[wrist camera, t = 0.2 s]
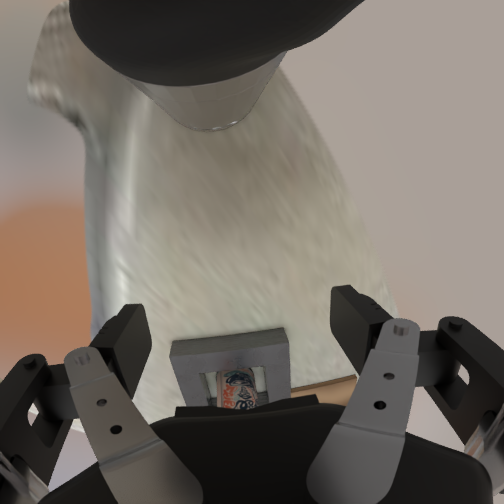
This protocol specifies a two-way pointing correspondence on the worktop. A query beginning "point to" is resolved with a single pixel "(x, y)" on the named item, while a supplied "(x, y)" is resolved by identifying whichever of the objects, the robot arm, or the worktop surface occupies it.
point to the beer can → (236, 389)
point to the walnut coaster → (329, 390)
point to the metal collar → (232, 363)
